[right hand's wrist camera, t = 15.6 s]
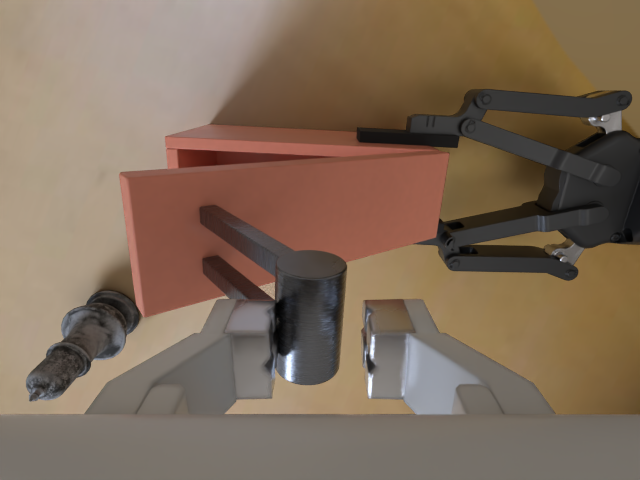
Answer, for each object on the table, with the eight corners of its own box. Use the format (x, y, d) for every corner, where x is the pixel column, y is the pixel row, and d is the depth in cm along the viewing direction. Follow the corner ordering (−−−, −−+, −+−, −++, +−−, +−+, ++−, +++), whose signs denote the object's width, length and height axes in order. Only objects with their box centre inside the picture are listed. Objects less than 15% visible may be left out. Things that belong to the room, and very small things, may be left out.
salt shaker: (87, 280, 39) (-10, 358, 27) (146, 298, 39) (75, 381, 28) (79, 328, 41) (-14, 419, 29) (136, 345, 41) (66, 440, 30)
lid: (135, 305, 16) (233, 464, 9) (118, 171, 14) (226, 254, 7) (422, 232, 26) (563, 284, 20) (434, 150, 24) (594, 176, 18)
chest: (211, 186, 35) (171, 219, 26) (209, 124, 34) (164, 136, 24) (399, 195, 36) (427, 231, 26) (407, 134, 34) (439, 150, 24)
